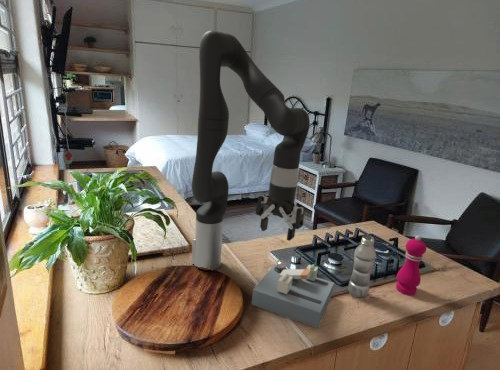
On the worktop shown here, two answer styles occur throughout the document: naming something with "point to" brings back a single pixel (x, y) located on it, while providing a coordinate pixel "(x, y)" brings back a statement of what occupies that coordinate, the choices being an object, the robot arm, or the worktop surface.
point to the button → (281, 265)
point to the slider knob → (284, 283)
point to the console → (294, 298)
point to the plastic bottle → (362, 268)
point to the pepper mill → (411, 267)
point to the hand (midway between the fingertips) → (276, 234)
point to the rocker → (297, 273)
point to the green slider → (312, 272)
